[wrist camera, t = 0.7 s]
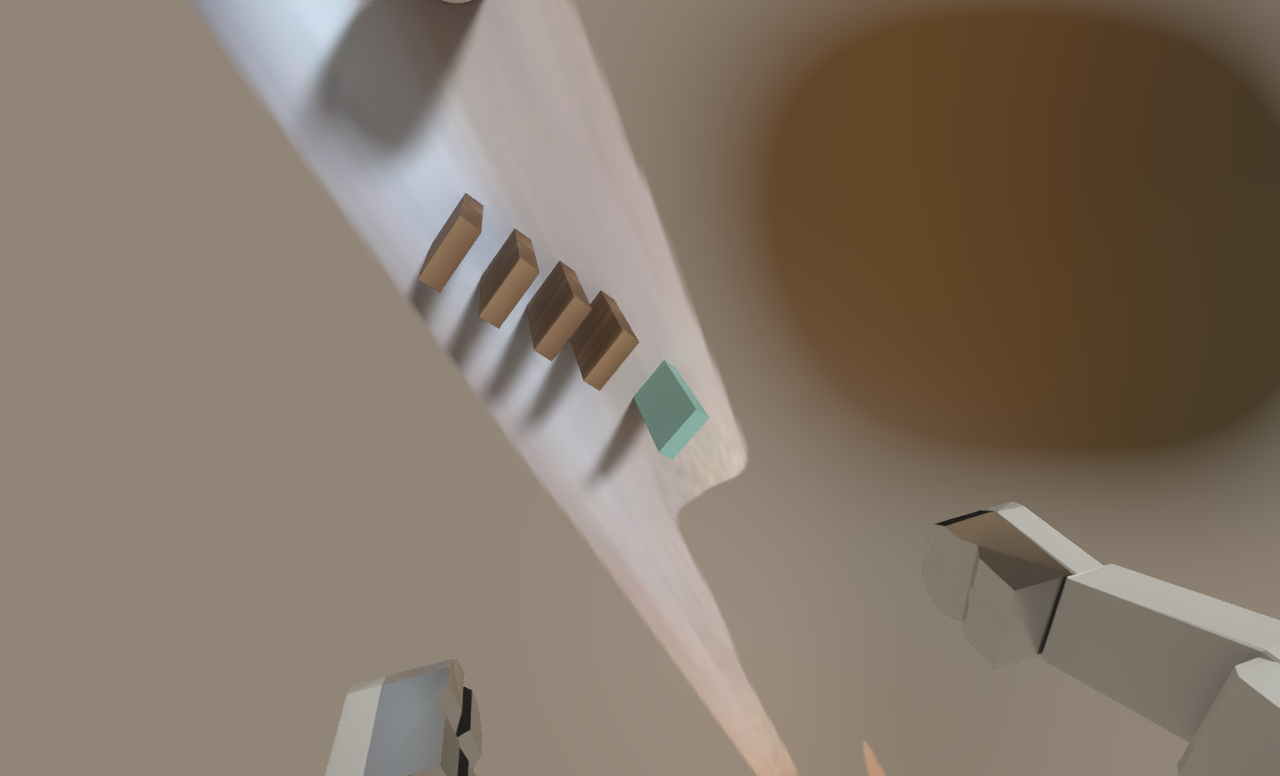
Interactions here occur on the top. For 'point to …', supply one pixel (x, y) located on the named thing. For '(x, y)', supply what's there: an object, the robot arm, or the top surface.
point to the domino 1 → (452, 243)
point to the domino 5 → (669, 410)
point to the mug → (456, 1)
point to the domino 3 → (557, 311)
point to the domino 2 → (507, 278)
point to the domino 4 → (602, 341)
